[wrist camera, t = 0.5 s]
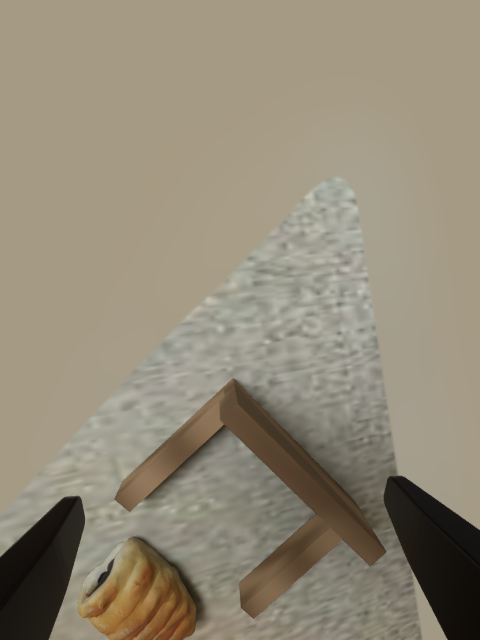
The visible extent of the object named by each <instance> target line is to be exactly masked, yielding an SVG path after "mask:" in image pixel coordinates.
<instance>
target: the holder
mask: <svg viewBox="0 0 480 640" xmlns="http://www.w3.org/2000/svg"><path fill="white" fill-rule="evenodd" d="M223 425H225V426H226V427H228V428H229V429H230V430H231V431H232V432H233V433H234V434H235V435H236V436H237V437H238V438H239V439H240V440H241V441H242V442H243V443H244V444H245V445H246V446H247V447H248V448H249V449H250V450H251V451H252V452H253V453H254V454H255V455H256V456H257V457H258V458H259V459H260V460H261V461H262V462H264V463H265V464H266V465H267V466H268V467H269V468H270V469H271V470H272V471H273V472H274V473H275V474H276V475H277V476H278V477H279V478H280V479H281V480H282V481H283V482H284V483H285V484H286V485H287V486H288V487H289V488H290V489H291V490H292V491H293V492H294V493H295V494H296V495H297V496H298V497H299V498H301V499H302V500H303V501H304V502H305V503H306V504H307V505H308V506H309V507H310V508H311V509H312V510H313V511H314V512H315V513H316V514H315V515H314V516H313V517H312V518H311V519H310V520H309V521H308V522H306V523H305V524H304V525H303V526H302V527H301V528H300V529H299V530H298V531H296V532H295V533H294V534H293V535H292V536H291V537H290V538H289V539H288V540H286V541H285V542H284V543H283V544H282V545H281V546H280V547H279V548H278V549H277V550H275V551H274V552H273V553H272V554H271V555H270V556H269V557H268V558H267V559H265V560H264V561H263V562H262V563H261V564H260V565H259V566H258V567H257V568H255V569H254V570H253V571H252V572H251V573H250V574H249V575H248V576H247V577H245V578H244V579H243V580H242V581H241V582H240V583H239V588H240V602H241V608H242V609H243V610H244V611H245V612H246V613H248V614H249V615H250V616H251V617H252V618H253V619H254V618H255V617H256V616H258V615H259V614H260V613H261V612H262V611H263V610H264V609H265V608H266V607H268V606H269V605H270V604H271V603H272V602H273V601H274V600H275V599H277V598H278V597H279V596H280V595H281V594H282V593H283V592H284V591H285V590H287V589H288V588H289V587H290V586H291V585H292V584H293V583H294V582H296V581H297V580H298V579H299V578H300V577H301V576H302V575H303V574H304V573H306V572H307V571H308V570H309V569H310V568H311V567H312V566H313V565H314V564H316V563H317V562H318V561H319V560H320V559H321V558H322V557H323V556H325V555H326V554H327V553H328V552H329V551H330V550H331V549H332V548H333V547H335V546H336V545H337V544H338V543H339V542H340V541H341V540H342V539H343V540H344V541H345V542H346V543H347V544H348V545H349V546H350V547H351V548H352V549H353V550H354V551H355V552H356V553H357V554H358V555H359V556H360V557H361V558H362V559H363V560H364V561H365V562H366V563H367V564H368V565H369V566H371V565H372V564H374V563H375V562H376V561H377V560H378V559H379V558H380V557H381V556H383V555H384V554H385V553H386V550H385V549H384V547H383V546H382V544H381V542H380V541H379V539H378V538H377V536H376V534H375V533H374V531H373V530H372V528H371V526H370V525H369V523H368V522H367V520H366V518H365V517H364V515H363V514H362V512H361V510H360V509H359V507H358V506H357V504H356V502H355V501H354V500H353V499H352V498H351V497H350V496H349V495H348V494H347V493H346V492H345V491H344V490H343V489H342V488H341V487H340V486H339V485H338V484H337V483H336V482H335V481H334V480H333V479H332V478H331V477H330V476H329V475H328V474H327V473H326V472H325V471H324V470H323V468H322V467H321V466H320V465H319V464H318V463H317V462H316V461H315V460H314V459H313V458H312V457H311V456H310V455H309V454H308V453H307V452H306V451H305V450H304V449H303V448H302V447H301V446H300V445H299V444H298V443H297V442H296V441H295V440H294V439H293V438H292V437H291V436H290V435H289V434H288V433H287V432H286V431H285V430H284V429H283V428H282V427H281V426H280V425H279V424H278V423H277V422H276V421H275V420H274V419H273V418H272V417H271V416H270V415H269V414H268V413H267V412H266V411H265V410H264V409H263V408H262V407H261V406H260V405H259V404H258V403H257V402H256V401H255V400H254V399H253V398H252V397H251V396H250V395H249V394H248V393H247V392H246V391H245V390H244V389H243V388H242V387H241V386H240V385H239V384H238V383H237V382H236V381H235V380H234V379H232V380H231V381H230V382H229V383H228V384H227V385H226V386H224V387H223V388H222V389H221V390H220V391H219V392H218V393H217V394H216V395H215V396H214V397H213V398H212V399H211V400H209V401H208V402H207V403H206V404H205V405H204V406H203V407H202V408H201V409H200V410H199V411H198V412H197V413H196V414H194V415H193V416H192V417H191V418H190V419H189V420H188V421H187V422H186V423H185V424H184V425H183V426H182V427H180V428H179V429H178V430H177V431H176V432H175V433H174V434H173V435H172V436H171V437H170V438H169V439H168V440H167V441H165V442H164V443H163V444H162V445H161V446H160V447H159V448H158V449H157V450H156V451H155V452H154V453H153V454H152V455H150V456H149V457H148V458H147V459H146V460H145V461H144V462H143V463H142V464H141V465H140V466H139V467H138V468H136V469H135V470H134V471H133V472H132V473H131V474H130V475H129V476H128V477H127V478H126V479H125V480H124V481H123V482H122V484H121V486H120V488H119V490H118V492H117V495H116V497H115V500H116V501H117V502H118V503H119V504H121V505H122V506H123V507H124V508H125V509H126V510H128V511H129V512H130V511H131V510H132V509H133V508H135V507H136V506H137V505H138V504H139V503H140V502H141V501H142V500H143V499H144V498H145V497H146V496H147V495H149V494H150V493H151V492H152V491H153V490H154V489H155V488H156V487H157V486H158V485H159V484H160V483H161V482H163V481H164V480H165V479H166V478H167V477H168V476H169V475H170V474H171V473H172V472H173V471H174V470H176V469H177V468H178V467H179V466H180V465H181V464H182V463H183V462H184V461H185V460H186V459H187V458H188V457H190V456H191V455H192V454H193V453H194V452H195V451H196V450H197V449H198V448H199V447H200V446H201V445H202V444H204V443H205V442H206V441H207V440H208V439H209V438H210V437H211V436H212V435H213V434H214V433H215V432H217V431H218V430H219V429H220V428H221V427H222V426H223Z"/></svg>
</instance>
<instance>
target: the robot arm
mask: <svg viewBox="0 0 480 640" xmlns="http://www.w3.org/2000/svg"><path fill="white" fill-rule="evenodd" d="M384 503H385V506H386V509H387V511H388V514H389V516H390V519H391V521H392V524H393V526H394V529H395V531H396V534H397V536H398V539H399V541H400V543H401V546H402V548H403V551H404V553H405V556H406V558H407V560H408V562H409V564H410V566H411V569H412V571H413V573H414V575H415V577H416V578H417V580H418V582H419V584H420V586H421V588H422V590H423V592H424V594H425V596H426V598H427V600H428V602H429V604H430V606H431V608H432V610H433V612H434V614H435V616H436V618H437V620H438V622H439V624H440V625H441V628H442V630H443V632H444V634H445V636H446V637H447V639H448V640H480V530H479V529H477V528H476V527H475V526H473V525H472V524H470V523H469V522H467V521H466V520H465V519H463V518H462V517H460V516H459V515H458V514H456V513H455V512H453V511H452V510H451V509H449V508H447V507H446V506H445V505H443V504H442V503H441V502H439V501H438V500H436V499H435V498H434V497H432V496H431V495H429V494H428V493H426V492H425V491H423V490H422V489H421V488H419V487H418V486H416V485H415V484H414V483H412V482H411V481H409V480H408V479H407V478H405V477H403V476H390V477H389V478H388V479H387V483H386V488H385V493H384ZM84 525H85V514H84V509H83V504H82V500H81V497H80V496H67V497H64V498H63V499H61V500H60V501H59V502H58V503H57V504H56V505H55V506H54V507H53V508H52V509H51V510H50V511H48V512H47V513H46V514H45V515H44V516H43V517H42V518H41V519H40V520H39V521H38V522H37V523H36V524H35V525H34V526H32V527H31V528H30V529H29V530H28V531H27V532H26V533H25V534H24V535H23V536H22V537H21V538H20V539H19V540H18V541H16V542H15V543H14V544H13V545H12V546H11V547H10V548H9V549H8V550H7V551H6V552H5V553H4V554H3V555H2V556H1V557H0V640H49V637H50V634H51V632H52V629H53V626H54V624H55V621H56V618H57V616H58V613H59V610H60V608H61V605H62V602H63V599H64V596H65V593H66V590H67V587H68V584H69V580H70V577H71V573H72V569H73V566H74V562H75V558H76V555H77V551H78V547H79V544H80V540H81V536H82V533H83V529H84Z"/></svg>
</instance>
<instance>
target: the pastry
mask: <svg viewBox="0 0 480 640" xmlns="http://www.w3.org/2000/svg"><path fill="white" fill-rule="evenodd" d="M78 612H79V615H80V616H81V617H82V618H86V617H87V618H88V620H89V621H90V622H91V623H92V624H93V625H94V626H95V627H96V628H97V630H99V631H100V632H101V633H103V634H105V635H107V637H108V638H109V639H110V640H183V639H184V638H185V637H188V636H191V635H192V634H193V633H194V631H195V626H196V605H195V603H194V602H193V600H192V598H191V596H190V595H189V593H188V592H187V589H186V587H185V586H184V584H183V583H182V581H181V579H180V577H179V574H178V571H177V569H176V568H175V567H174V566H171V565H169V563H168V562H167V561H166V560H165V559H164V558H163V557H161V556H160V555H159V553H158V552H157V551H156V550H154V549H153V548H152V547H151V546H149V545H148V544H147V543H145V542H143V541H141V540H140V539H137V538H129V539H128V540H127V541H123V542H121V543H120V544H119V545H118V546H116V547H115V548H114V549H113V551H112V552H111V554H110V555H109V556H108V557H107V559H106V560H105V562H104V563H103V564H101V565H99V566H98V567H96V568H95V569H94V570H93V571H92V572H91V573H90V574H89V575H88V576H87V577H86V579H85V581H84V583H83V585H82V588H81V592H80V595H79V599H78Z"/></svg>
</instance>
